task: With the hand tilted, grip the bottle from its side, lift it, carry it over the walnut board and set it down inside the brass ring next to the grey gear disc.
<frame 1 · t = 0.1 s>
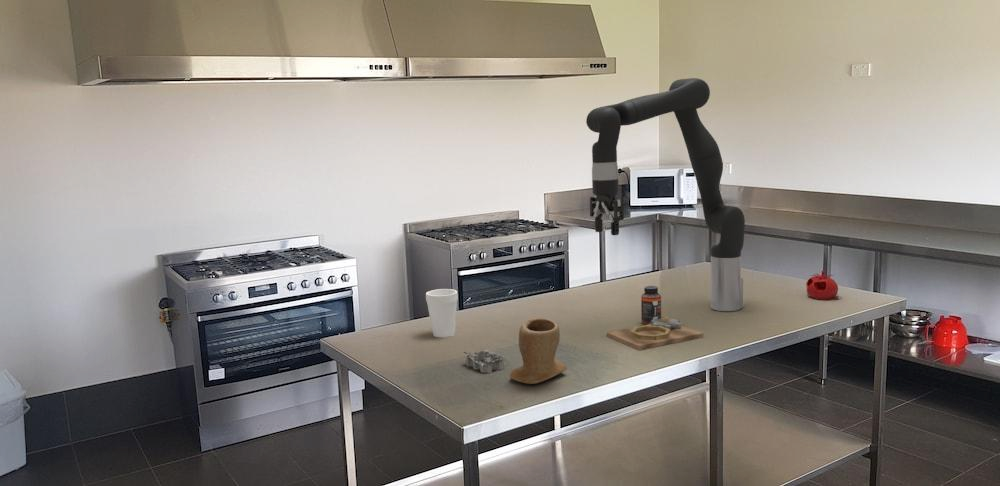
hand: (606, 233, 227), 29 cm above the table, tool pointing down, fingers open, 8 cm apart
supplement bottle: (651, 323, 237), on the table
board: (654, 336, 223), on the table
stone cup: (541, 378, 193), on the table
foam cup: (444, 335, 235), on the table
egg carton: (485, 367, 204), on the table
pomegranate: (821, 298, 259), on the table
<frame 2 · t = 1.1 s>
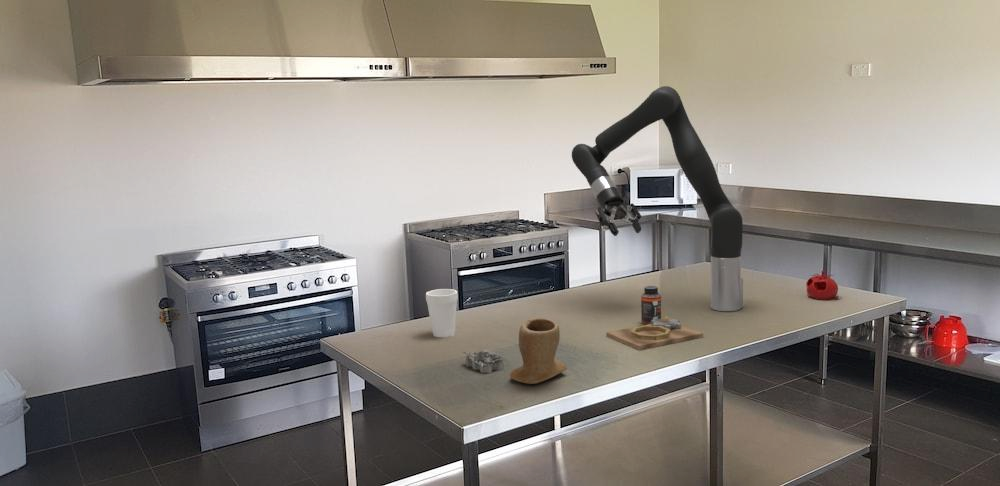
hand: (628, 232, 243), 27 cm above the table, tool tilted 45°, fingers open, 8 cm apart
nothing on the table moved.
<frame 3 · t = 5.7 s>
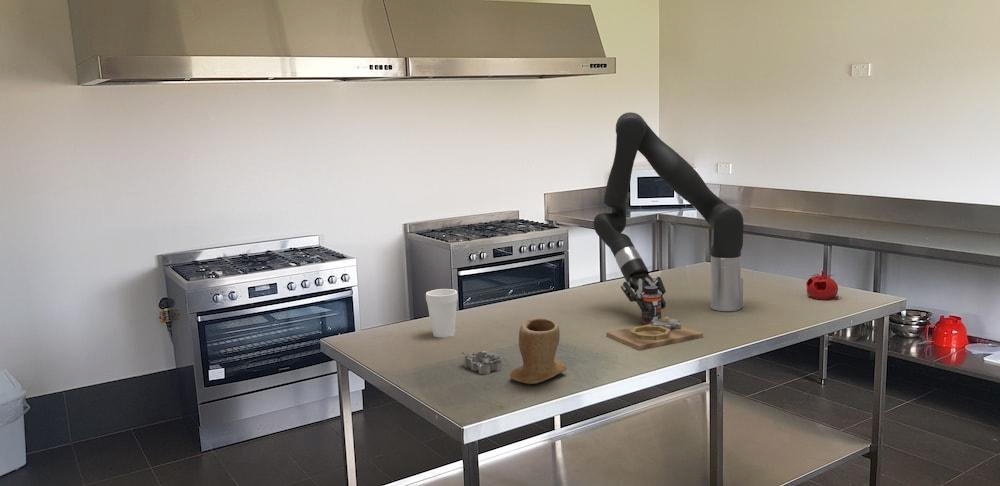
hand: (654, 309, 235), 5 cm above the table, tool tilted 45°, fingers closed on supplement bottle, 6 cm apart
supplement bottle: (651, 323, 237), on the table, touching gripper
everything else where it was.
when the fingers open (7 cm above the table, at t = 11.4 s): supplement bottle drops 1 cm, resting on board.
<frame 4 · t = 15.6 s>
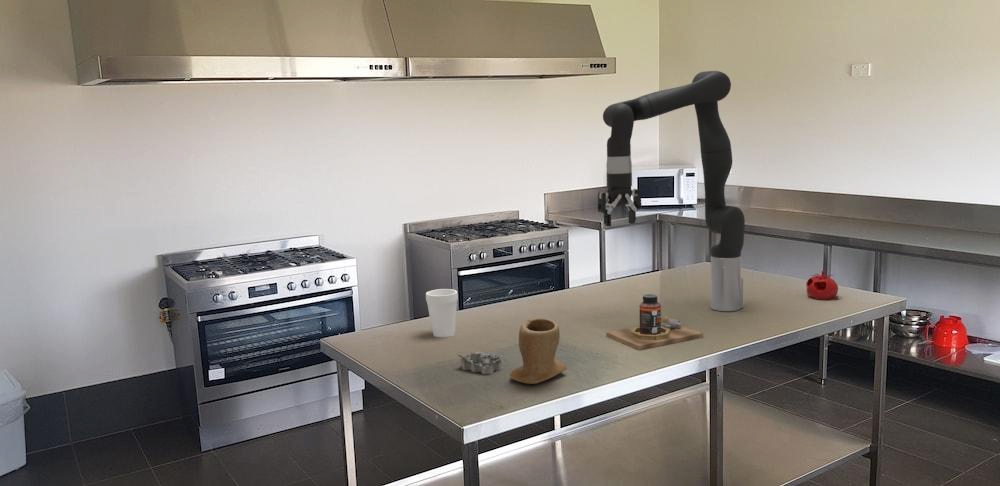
hand: (620, 224, 236), 30 cm above the table, tool pointing down, fingers open, 8 cm apart
supplement bottle: (650, 335, 221), point 1 cm above the table, touching board
at the end: supplement bottle 0.3 cm from the target spot on the board, point 1.0 cm above the board's base; supplement bottle tilted 0°; the gripper is holding nothing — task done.
